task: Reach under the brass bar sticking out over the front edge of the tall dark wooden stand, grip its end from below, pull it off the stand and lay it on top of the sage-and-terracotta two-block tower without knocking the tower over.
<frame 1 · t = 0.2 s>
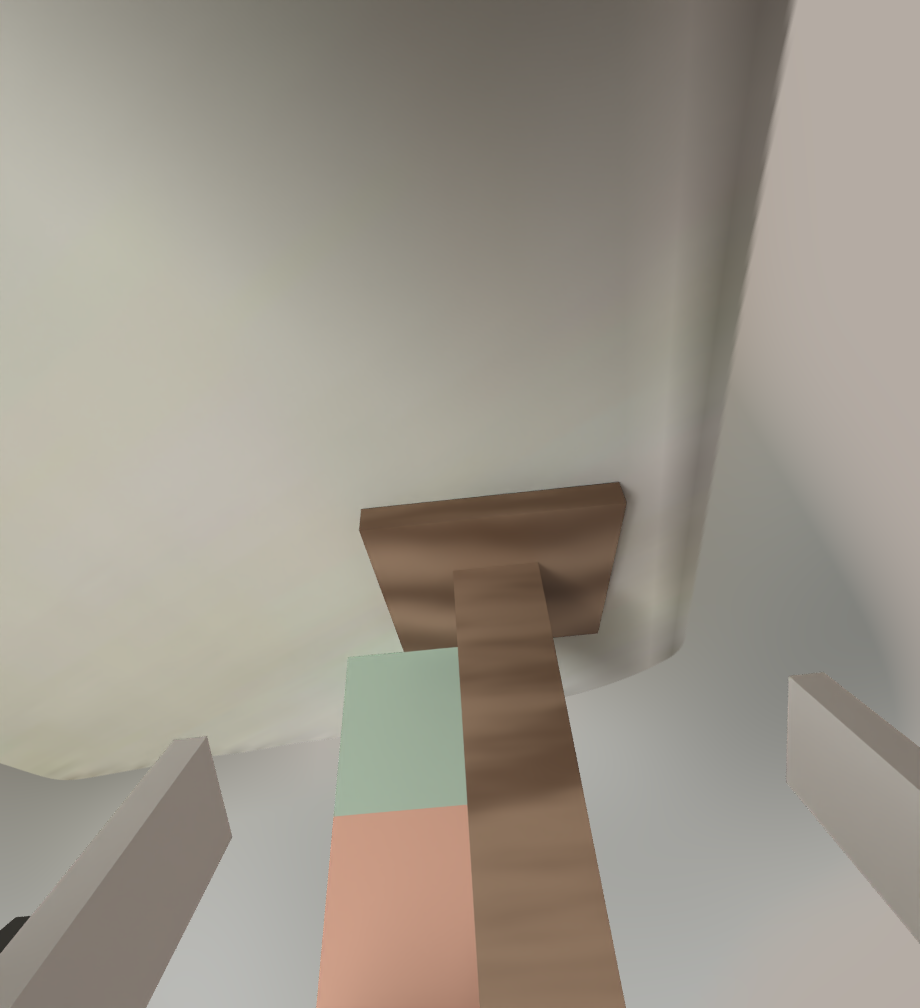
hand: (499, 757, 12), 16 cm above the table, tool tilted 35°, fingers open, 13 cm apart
wooden stand: (494, 569, 33), on the table
bottom block: (418, 672, 44), on the table, touching top block
top block: (419, 822, 37), point 11 cm above the table, touching bottom block
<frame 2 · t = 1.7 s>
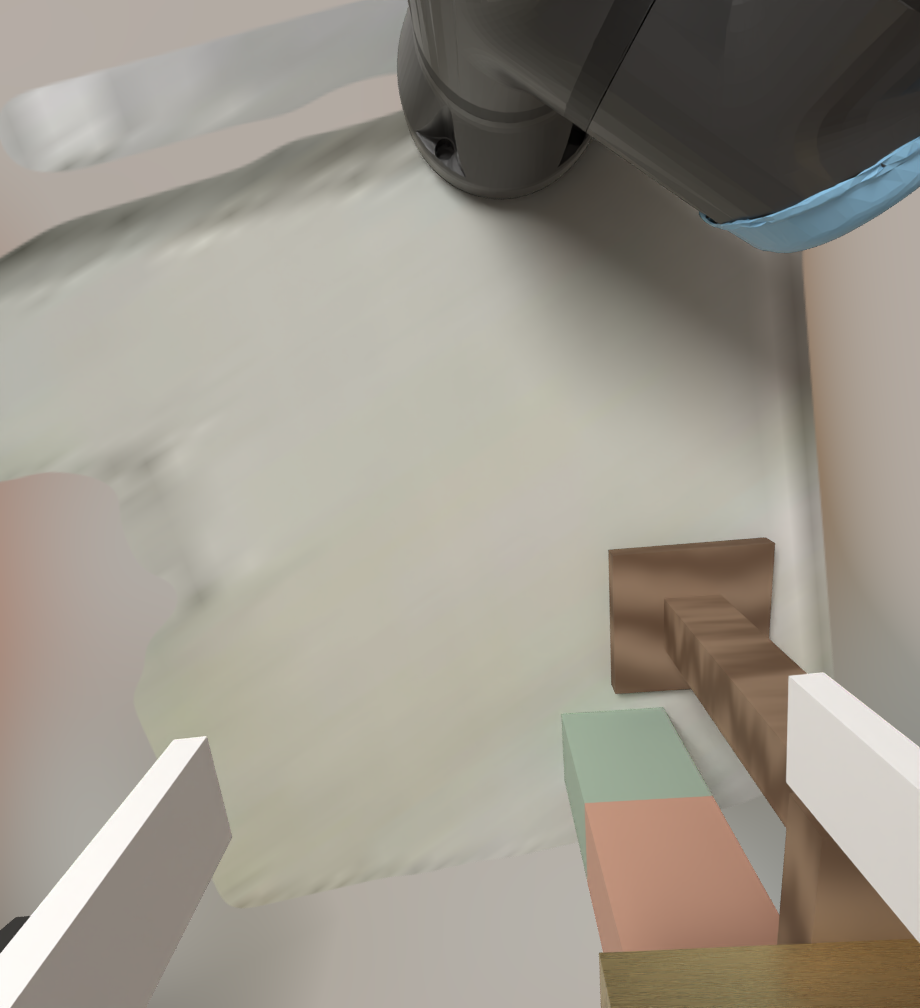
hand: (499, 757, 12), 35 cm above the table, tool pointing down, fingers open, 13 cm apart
wooden stand: (685, 614, 49), on the table
brass bar: (887, 978, 20), point 30 cm above the table, touching wooden stand
bottom block: (612, 744, 53), on the table, touching top block
top block: (648, 840, 42), point 11 cm above the table, touching bottom block
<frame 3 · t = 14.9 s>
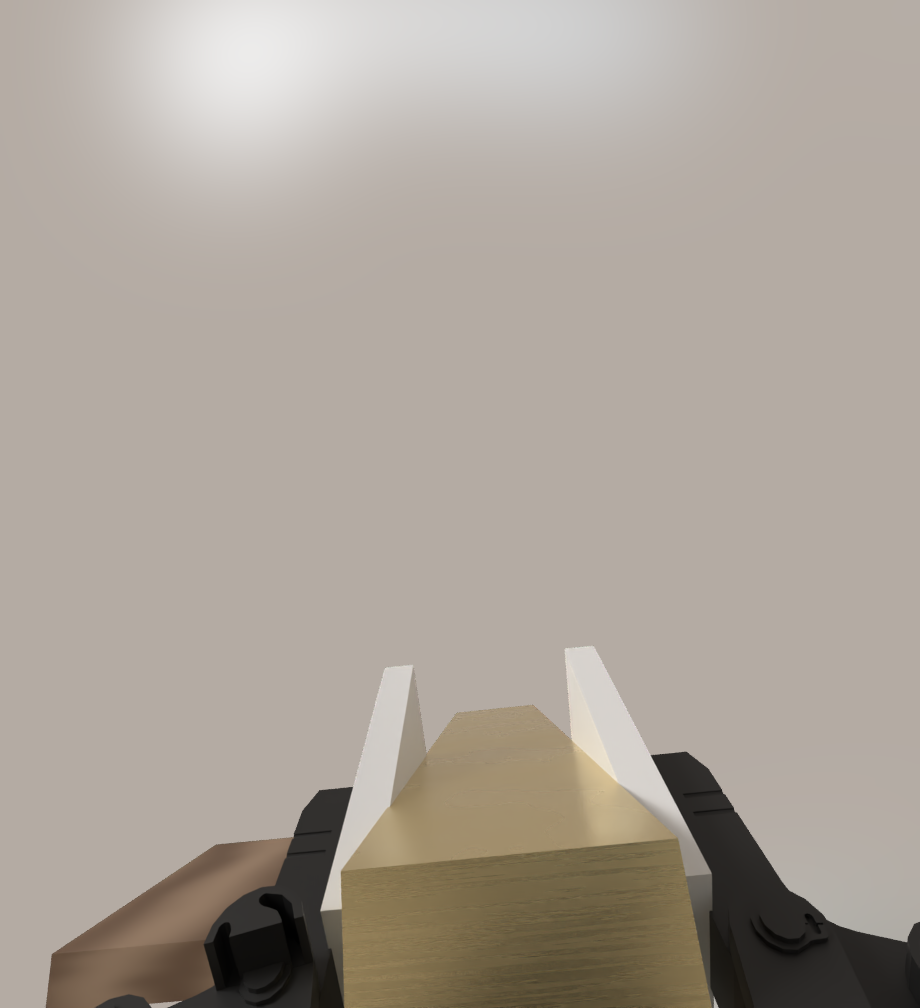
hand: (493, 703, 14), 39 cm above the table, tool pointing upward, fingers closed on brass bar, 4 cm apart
brass bar: (509, 843, 16), point 35 cm above the table, touching gripper
when the fingers open (28 cm above the table, at t = 18.8 s): brass bar drops 2 cm, resting on top block.
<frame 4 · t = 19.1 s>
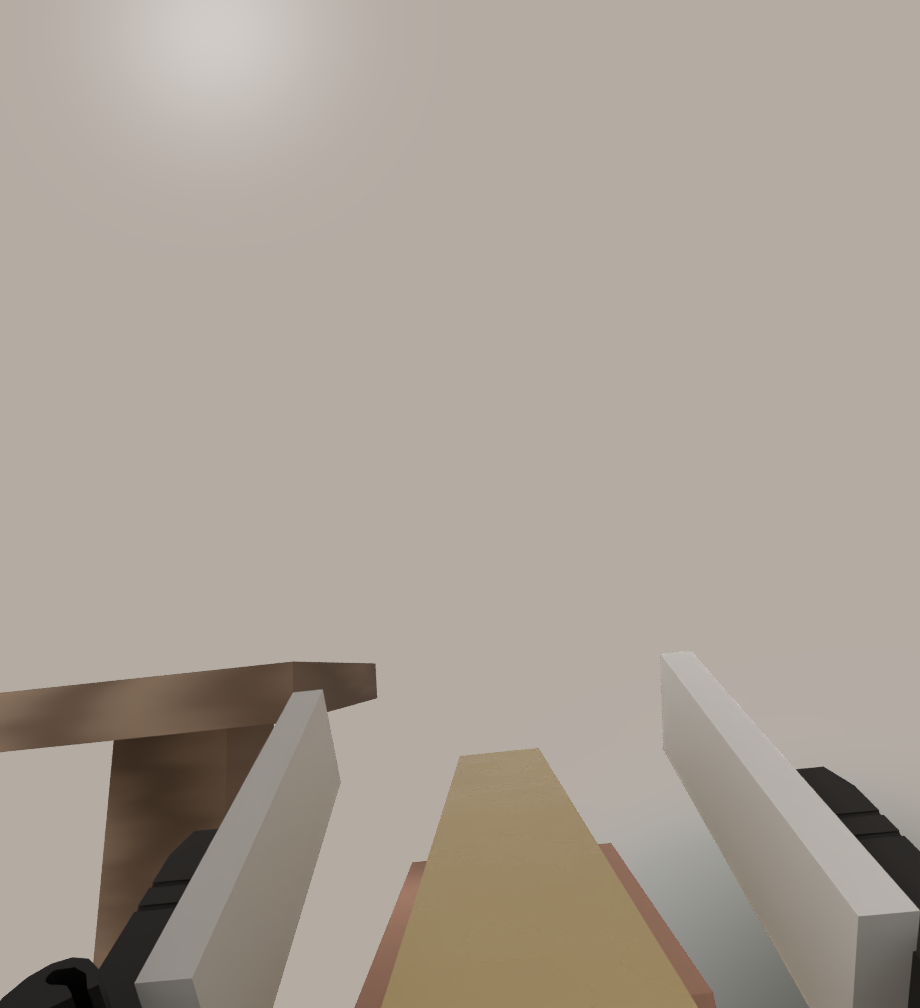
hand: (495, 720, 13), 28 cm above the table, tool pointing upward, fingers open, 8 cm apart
brass bar: (519, 925, 15), point 22 cm above the table, touching top block
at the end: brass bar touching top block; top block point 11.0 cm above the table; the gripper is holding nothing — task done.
